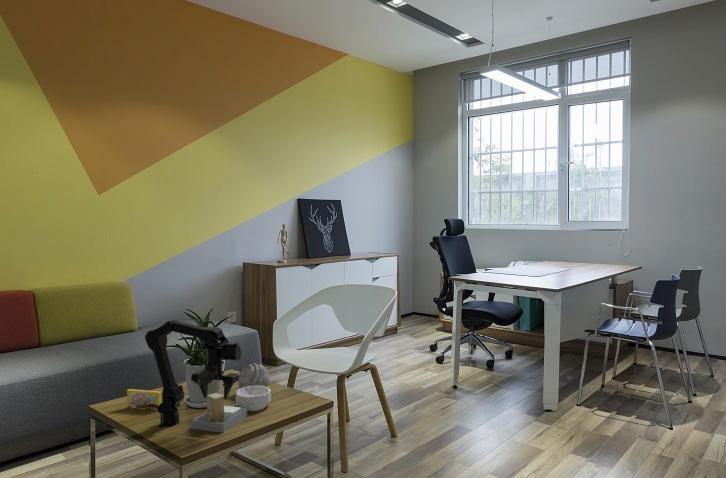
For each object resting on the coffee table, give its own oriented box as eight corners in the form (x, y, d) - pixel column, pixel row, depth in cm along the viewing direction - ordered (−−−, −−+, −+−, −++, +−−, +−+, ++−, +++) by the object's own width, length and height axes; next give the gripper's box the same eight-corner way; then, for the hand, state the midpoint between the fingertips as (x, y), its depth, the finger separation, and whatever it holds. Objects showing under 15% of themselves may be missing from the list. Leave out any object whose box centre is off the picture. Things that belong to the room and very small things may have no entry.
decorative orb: (233, 393, 253) (232, 362, 253) (261, 387, 262) (260, 357, 261) (246, 401, 241) (246, 369, 241) (275, 395, 250) (274, 363, 250)
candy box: (126, 408, 235) (126, 390, 235) (130, 407, 237) (129, 388, 237) (158, 411, 231) (158, 392, 231) (161, 409, 233) (161, 390, 233)
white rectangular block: (211, 420, 217) (211, 410, 217) (220, 414, 223) (219, 405, 223) (233, 422, 214) (233, 412, 214) (241, 417, 220) (241, 407, 220)
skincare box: (206, 425, 212) (206, 394, 212) (216, 422, 215) (216, 392, 215) (215, 429, 207) (214, 398, 207) (225, 426, 210) (224, 395, 210)
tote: (192, 430, 208) (192, 420, 208) (217, 414, 225) (217, 405, 225) (223, 434, 204) (223, 423, 204) (247, 417, 221) (247, 408, 221)
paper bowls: (263, 415, 224) (262, 397, 223) (229, 413, 227) (229, 395, 226) (276, 403, 239) (275, 386, 238) (244, 401, 242) (244, 384, 241)
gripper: (181, 363, 206) (183, 403, 206) (224, 366, 200) (225, 407, 201) (198, 356, 216) (199, 394, 217) (239, 359, 211) (240, 398, 211)
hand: (215, 398), depth 211 cm, fingers open, 9 cm apart
